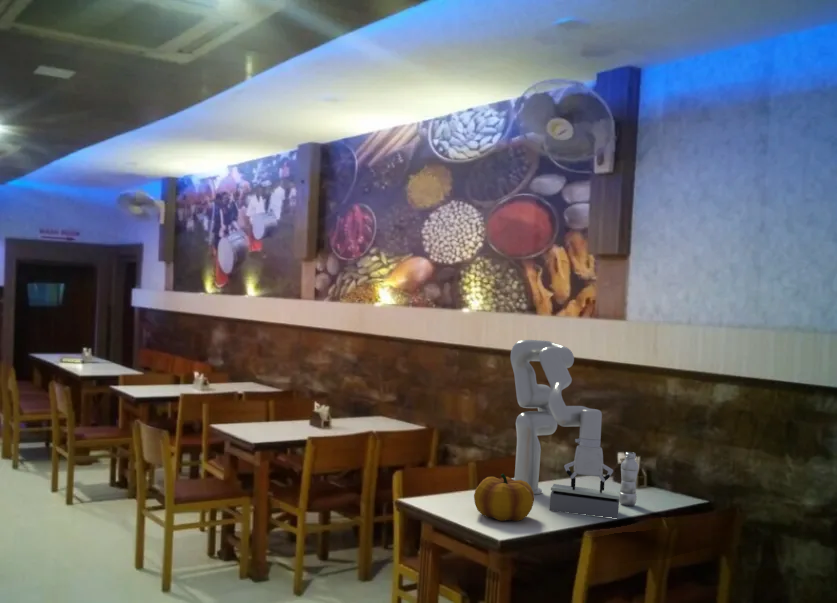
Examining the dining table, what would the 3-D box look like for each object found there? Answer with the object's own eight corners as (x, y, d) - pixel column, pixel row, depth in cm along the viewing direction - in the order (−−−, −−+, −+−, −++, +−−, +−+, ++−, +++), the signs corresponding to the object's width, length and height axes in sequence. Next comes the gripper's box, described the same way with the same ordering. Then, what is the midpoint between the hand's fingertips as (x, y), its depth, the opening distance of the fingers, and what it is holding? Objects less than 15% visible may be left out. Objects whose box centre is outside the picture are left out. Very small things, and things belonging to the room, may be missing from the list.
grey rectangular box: (549, 510, 281) (550, 493, 281) (552, 502, 292) (553, 486, 292) (617, 519, 274) (618, 502, 274) (618, 511, 286) (619, 495, 286)
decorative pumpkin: (511, 529, 252) (514, 483, 252) (459, 513, 267) (462, 470, 267) (546, 520, 267) (549, 476, 267) (495, 505, 282) (498, 464, 282)
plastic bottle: (636, 508, 294) (640, 455, 294) (618, 505, 295) (622, 453, 295) (635, 504, 300) (639, 452, 300) (617, 501, 301) (621, 450, 301)
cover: (550, 490, 281) (551, 487, 281) (553, 486, 292) (554, 483, 292) (619, 499, 274) (619, 496, 274) (619, 495, 286) (619, 492, 286)
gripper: (564, 442, 280) (562, 490, 279) (614, 447, 275) (611, 495, 274) (566, 439, 287) (563, 486, 286) (614, 444, 282) (612, 491, 282)
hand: (587, 490), depth 280 cm, fingers open, 9 cm apart
